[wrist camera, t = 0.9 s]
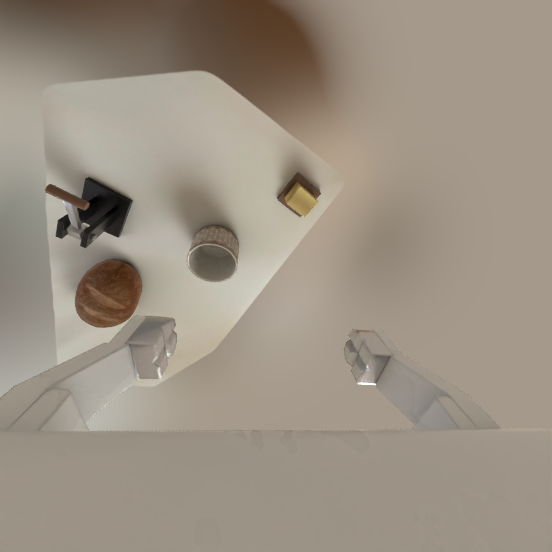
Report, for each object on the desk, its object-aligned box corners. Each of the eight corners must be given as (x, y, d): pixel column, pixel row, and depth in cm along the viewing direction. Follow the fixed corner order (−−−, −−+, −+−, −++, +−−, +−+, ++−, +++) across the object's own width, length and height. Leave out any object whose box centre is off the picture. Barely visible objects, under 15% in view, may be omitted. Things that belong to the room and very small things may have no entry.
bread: (153, 269, 64) (138, 295, 55) (131, 318, 78) (117, 345, 70) (94, 247, 57) (66, 273, 48) (82, 305, 71) (59, 333, 63)
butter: (297, 171, 49) (301, 178, 45) (319, 192, 53) (325, 199, 49) (277, 198, 53) (279, 206, 49) (299, 215, 56) (302, 224, 53)
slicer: (88, 177, 45) (45, 197, 36) (132, 200, 50) (104, 224, 40) (80, 217, 51) (41, 244, 42) (120, 235, 55) (93, 263, 46)
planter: (199, 260, 63) (192, 282, 55) (191, 223, 55) (181, 243, 47) (240, 260, 65) (238, 281, 57) (237, 223, 56) (235, 243, 49)
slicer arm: (53, 180, 32) (42, 190, 31) (90, 199, 34) (81, 208, 33) (67, 223, 43) (60, 231, 41) (96, 235, 45) (89, 243, 44)
